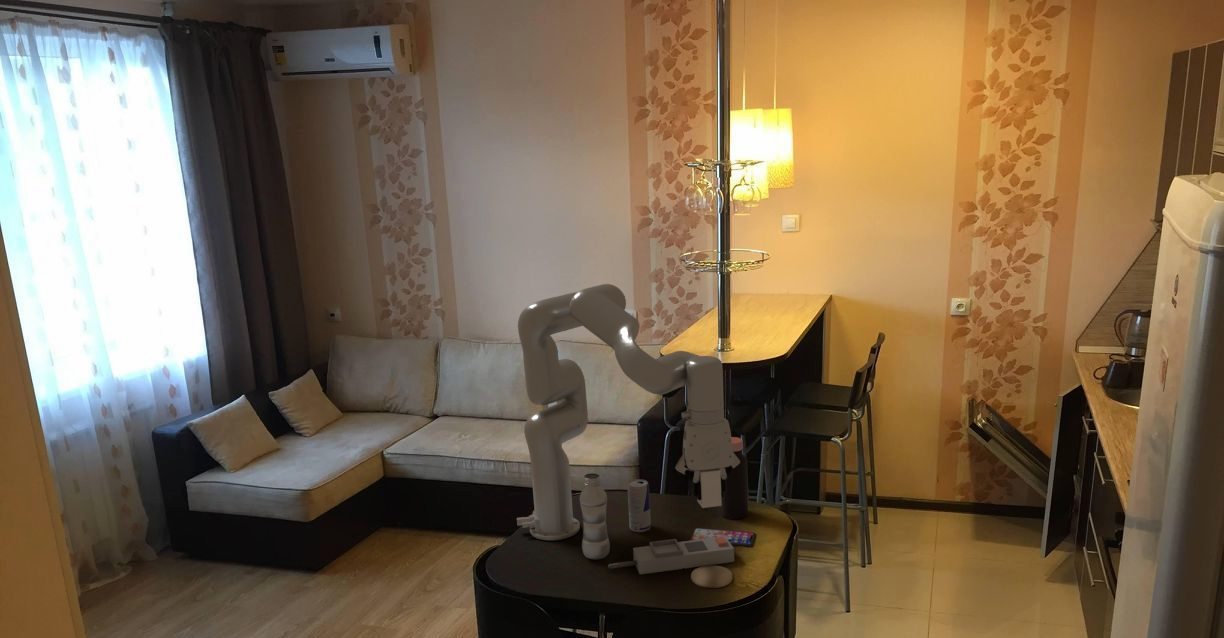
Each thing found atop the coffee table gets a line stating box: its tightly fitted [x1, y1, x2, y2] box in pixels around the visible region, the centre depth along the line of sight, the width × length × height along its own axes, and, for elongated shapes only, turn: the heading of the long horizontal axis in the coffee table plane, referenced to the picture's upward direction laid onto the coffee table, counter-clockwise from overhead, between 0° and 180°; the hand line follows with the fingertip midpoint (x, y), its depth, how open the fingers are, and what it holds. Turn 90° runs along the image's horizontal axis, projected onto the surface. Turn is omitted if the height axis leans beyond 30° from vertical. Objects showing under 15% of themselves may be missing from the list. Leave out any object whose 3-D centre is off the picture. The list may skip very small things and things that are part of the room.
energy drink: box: [627, 478, 652, 533], centre depth 209 cm, size 5×5×12 cm
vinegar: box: [720, 436, 749, 520], centre depth 213 cm, size 7×7×20 cm
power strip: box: [607, 536, 735, 575], centre depth 191 cm, size 28×7×4 cm, turn 100°
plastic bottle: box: [579, 472, 611, 561], centre depth 195 cm, size 6×7×20 cm
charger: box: [696, 468, 722, 509], centre depth 180 cm, size 4×4×8 cm
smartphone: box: [689, 527, 756, 548], centre depth 202 cm, size 8×1×15 cm
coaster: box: [690, 564, 733, 589], centre depth 184 cm, size 9×9×1 cm
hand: (708, 495), depth 180 cm, fingers closed on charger, 4 cm apart
